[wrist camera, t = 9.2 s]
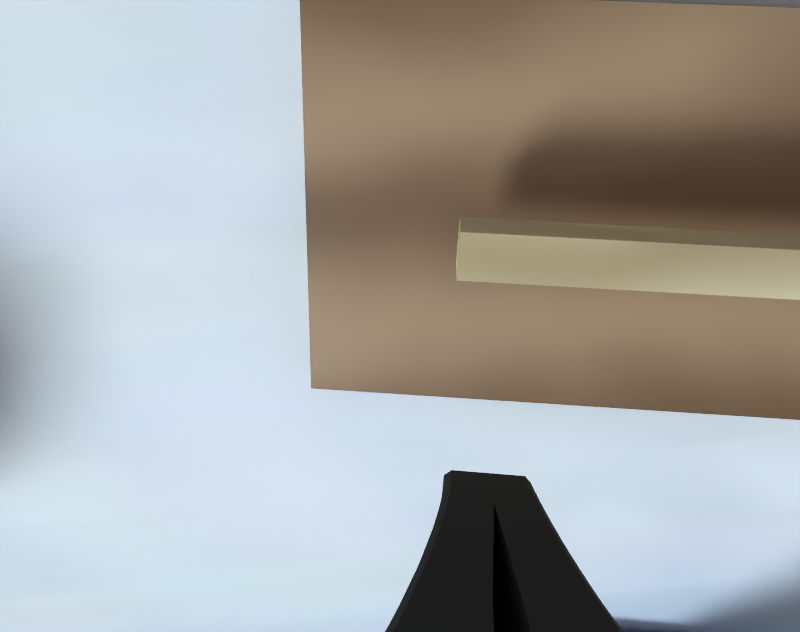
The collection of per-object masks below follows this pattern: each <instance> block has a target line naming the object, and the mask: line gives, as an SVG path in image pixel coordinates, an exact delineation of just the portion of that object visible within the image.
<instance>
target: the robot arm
mask: <svg viewBox="0 0 800 632" xmlns="http://www.w3.org/2000/svg"><path fill="white" fill-rule="evenodd" d="M385 632H623V631H622V630H621V628H620V627H619V626H618V624H617V623H616V621H615V620H614V619H613V617H612V616H611V614H610V613H609V612H608V610H607V609H606V608H605V606H604V605H603V603H602V602H601V600H600V599H599V598H598V596H597V595H596V593H595V592H594V590H593V589H592V587H591V586H590V584H589V583H588V581H587V580H586V578H585V577H584V575H583V573H582V572H581V570H580V569H579V567H578V566H577V564H576V563H575V561H574V559H573V558H572V556H571V555H570V553H569V552H568V550H567V548H566V547H565V545H564V543H563V542H562V540H561V538H560V537H559V535H558V533H557V531H556V530H555V528H554V526H553V524H552V523H551V521H550V519H549V517H548V516H547V514H546V512H545V510H544V508H543V506H542V504H541V503H540V501H539V499H538V497H537V495H536V493H535V491H534V489H533V487H532V485H531V483H530V481H529V480H528V479H527V478H526V477H525V476H515V475H503V474H490V473H478V472H466V471H453V470H451V471H450V472H448V473H447V474H445V475H444V481H443V491H442V499H441V503H440V507H439V511H438V514H437V517H436V520H435V524H434V527H433V530H432V532H431V535H430V537H429V540H428V543H427V545H426V548H425V550H424V553H423V556H422V558H421V561H420V563H419V565H418V568H417V570H416V572H415V574H414V576H413V578H412V580H411V582H410V584H409V587H408V589H407V591H406V593H405V595H404V597H403V599H402V601H401V603H400V605H399V607H398V609H397V611H396V613H395V615H394V617H393V619H392V620H391V622H390V624H389V626H388V628H387V629H386V631H385Z"/></svg>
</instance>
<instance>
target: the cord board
mask: <svg viewBox="0 0 800 632" xmlns="http://www.w3.org/2000/svg"><path fill="white" fill-rule="evenodd" d="M300 19H301V53H302V87H303V121H304V155H305V190H306V224H307V258H308V292H309V327H310V361H311V388H315V389H331V390H346V391H362V392H377V393H393V394H408V395H424V396H439V397H455V398H470V399H486V400H501V401H517V402H532V403H548V404H563V405H579V406H594V407H609V408H625V409H640V410H656V411H671V412H687V413H702V414H718V415H733V416H749V417H764V418H780V419H795V420H800V8H794V7H767V6H740V5H712V4H685V3H658V2H630V1H603V0H300Z"/></svg>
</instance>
